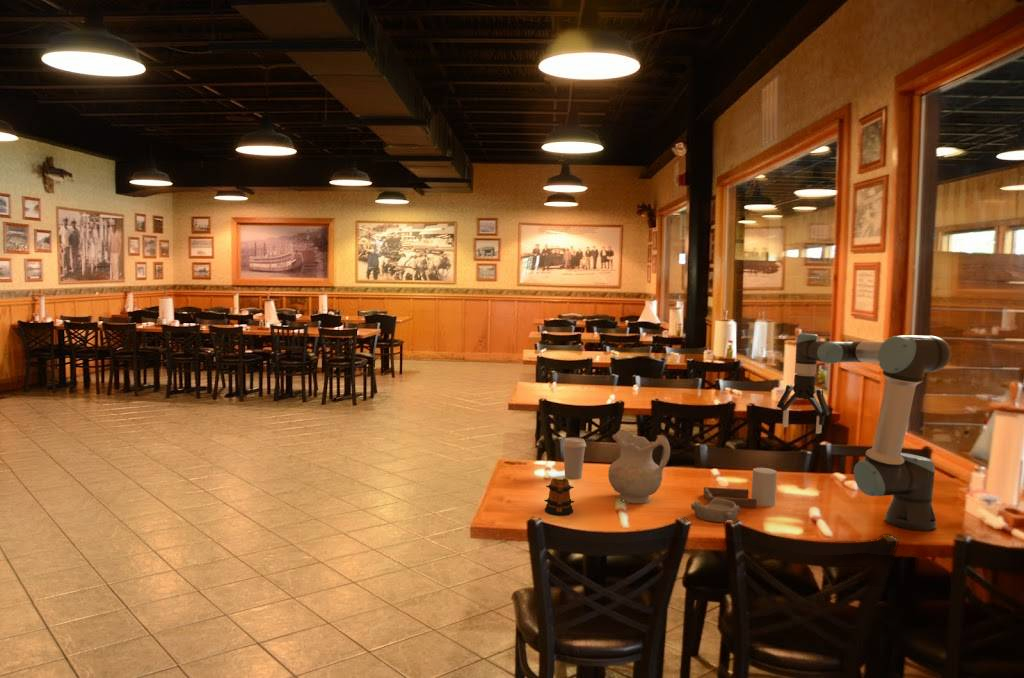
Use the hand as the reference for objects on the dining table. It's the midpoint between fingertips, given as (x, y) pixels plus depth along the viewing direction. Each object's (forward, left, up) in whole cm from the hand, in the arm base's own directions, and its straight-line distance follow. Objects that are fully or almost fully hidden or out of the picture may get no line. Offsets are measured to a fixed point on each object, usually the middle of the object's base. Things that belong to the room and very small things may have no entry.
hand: (801, 430), depth 295 cm
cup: (-19, +18, -24) cm, 35 cm away
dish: (-38, +38, -24) cm, 59 cm away
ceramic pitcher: (-22, +63, -24) cm, 70 cm away
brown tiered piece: (-42, +91, -24) cm, 103 cm away
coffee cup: (+4, +86, -24) cm, 89 cm away
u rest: (-19, +30, -24) cm, 42 cm away
